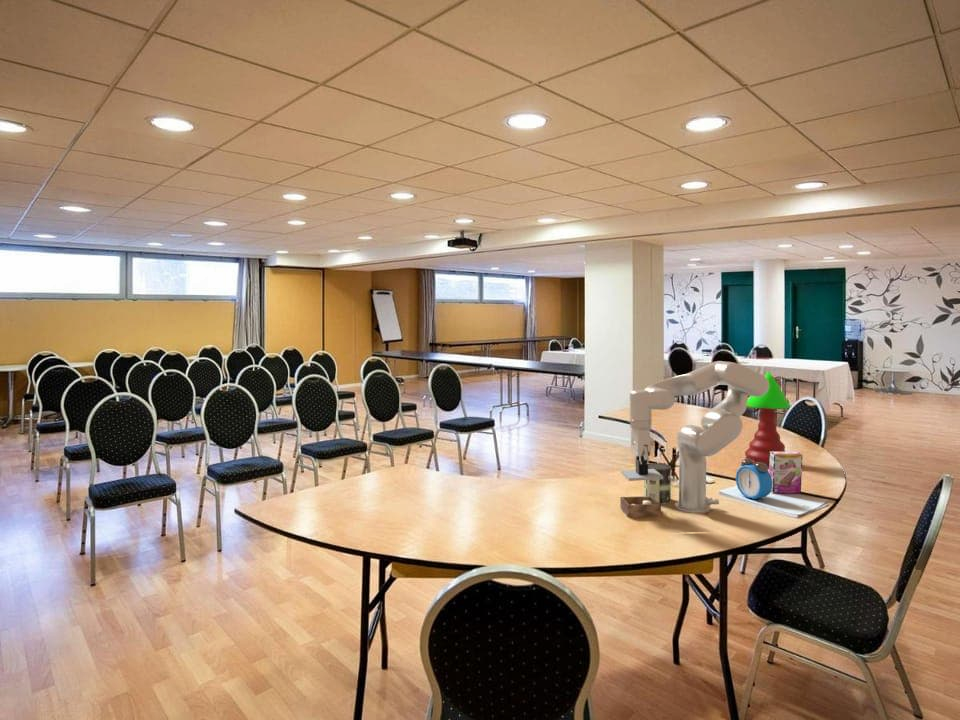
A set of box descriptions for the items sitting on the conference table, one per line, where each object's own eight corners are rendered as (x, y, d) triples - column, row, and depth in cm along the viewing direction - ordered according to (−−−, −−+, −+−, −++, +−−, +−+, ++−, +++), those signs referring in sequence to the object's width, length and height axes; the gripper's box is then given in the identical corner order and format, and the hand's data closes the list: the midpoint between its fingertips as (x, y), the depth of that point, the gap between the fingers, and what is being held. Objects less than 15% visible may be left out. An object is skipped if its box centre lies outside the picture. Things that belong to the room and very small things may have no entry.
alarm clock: (734, 494, 238) (735, 457, 237) (746, 492, 241) (747, 456, 239) (761, 503, 226) (761, 465, 225) (773, 501, 228) (773, 463, 227)
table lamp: (779, 458, 294) (781, 369, 291) (796, 469, 274) (799, 373, 271) (738, 458, 296) (739, 369, 293) (752, 468, 276) (754, 373, 273)
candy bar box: (773, 493, 238) (773, 454, 237) (768, 490, 243) (769, 451, 242) (802, 494, 237) (803, 454, 236) (796, 490, 242) (797, 451, 241)
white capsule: (649, 510, 219) (649, 500, 218) (652, 513, 216) (652, 502, 215) (641, 510, 218) (641, 500, 218) (644, 513, 215) (644, 503, 215)
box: (651, 509, 222) (652, 496, 222) (660, 518, 212) (661, 504, 212) (620, 509, 222) (620, 496, 221) (627, 519, 212) (627, 505, 211)
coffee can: (669, 497, 235) (669, 463, 234) (672, 506, 225) (672, 469, 224) (642, 496, 237) (642, 462, 236) (644, 504, 227) (644, 469, 226)
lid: (653, 471, 221) (653, 455, 221) (663, 479, 211) (663, 462, 210) (621, 473, 221) (620, 457, 221) (629, 480, 211) (628, 464, 210)
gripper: (624, 420, 222) (625, 467, 224) (637, 428, 206) (638, 480, 208) (644, 419, 223) (645, 466, 224) (658, 427, 206) (659, 479, 208)
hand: (641, 472), depth 216 cm, fingers closed on lid, 3 cm apart
